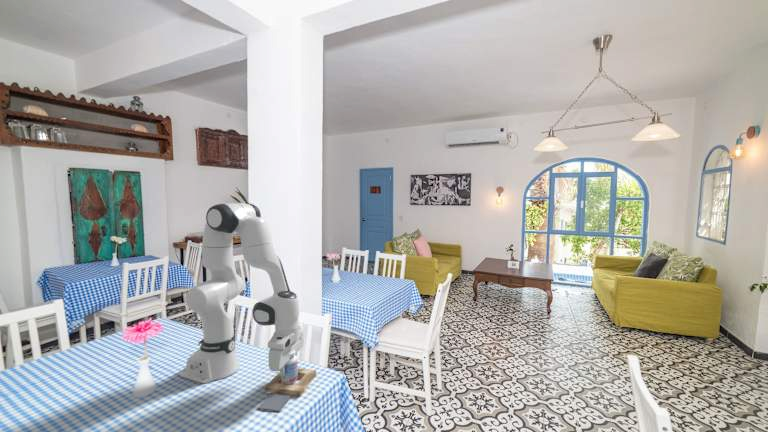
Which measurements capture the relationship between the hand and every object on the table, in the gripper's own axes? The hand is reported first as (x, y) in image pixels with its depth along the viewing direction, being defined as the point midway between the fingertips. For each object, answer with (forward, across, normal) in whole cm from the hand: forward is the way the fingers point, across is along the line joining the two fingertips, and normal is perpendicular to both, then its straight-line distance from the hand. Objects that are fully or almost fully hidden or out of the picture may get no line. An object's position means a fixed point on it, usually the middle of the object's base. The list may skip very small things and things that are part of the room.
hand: (288, 369), depth 119 cm
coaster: (+6, +11, +1) cm, 13 cm away
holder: (+6, -1, +1) cm, 6 cm away
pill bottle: (+4, 0, 0) cm, 4 cm away
